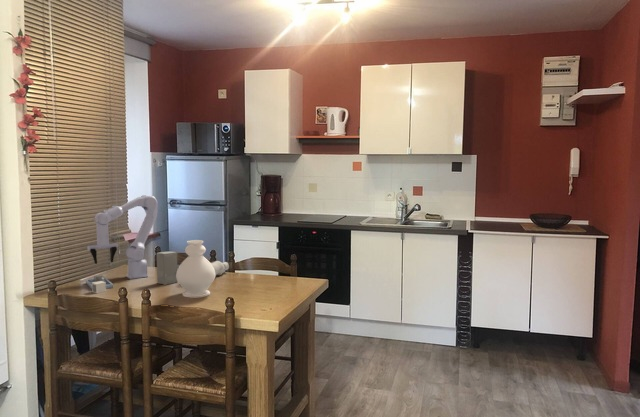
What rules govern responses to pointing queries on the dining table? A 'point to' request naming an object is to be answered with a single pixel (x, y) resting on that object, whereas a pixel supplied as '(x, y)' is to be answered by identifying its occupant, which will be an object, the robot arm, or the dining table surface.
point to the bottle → (220, 267)
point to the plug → (98, 278)
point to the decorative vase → (195, 271)
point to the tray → (108, 283)
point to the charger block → (99, 287)
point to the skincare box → (166, 267)
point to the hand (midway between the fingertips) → (103, 262)
